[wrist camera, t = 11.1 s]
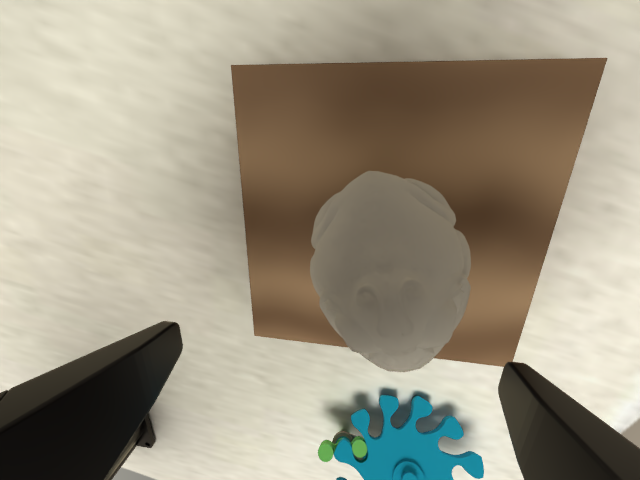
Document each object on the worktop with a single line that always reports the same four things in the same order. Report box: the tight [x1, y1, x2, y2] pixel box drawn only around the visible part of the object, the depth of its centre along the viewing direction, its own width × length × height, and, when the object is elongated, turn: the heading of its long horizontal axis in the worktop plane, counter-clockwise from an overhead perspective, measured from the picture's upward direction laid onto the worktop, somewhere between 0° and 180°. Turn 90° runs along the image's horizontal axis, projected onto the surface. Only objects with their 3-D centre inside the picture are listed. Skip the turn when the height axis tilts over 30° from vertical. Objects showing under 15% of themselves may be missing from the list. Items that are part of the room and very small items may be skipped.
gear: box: [318, 395, 484, 480], centre depth 22 cm, size 11×6×10 cm
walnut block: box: [231, 58, 607, 367], centre depth 17 cm, size 15×15×4 cm
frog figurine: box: [310, 171, 471, 372], centre depth 12 cm, size 6×7×7 cm
